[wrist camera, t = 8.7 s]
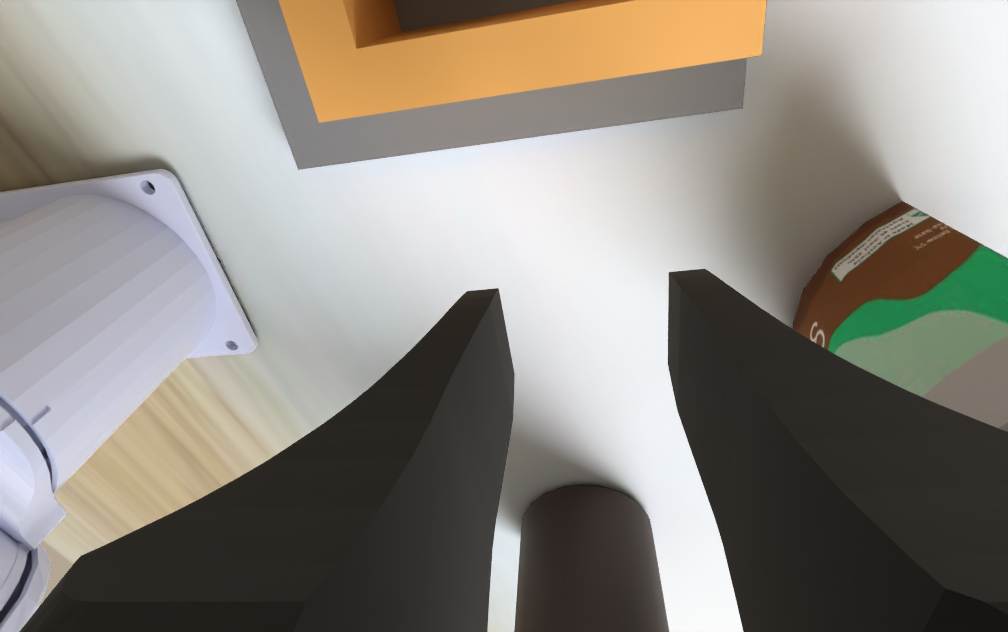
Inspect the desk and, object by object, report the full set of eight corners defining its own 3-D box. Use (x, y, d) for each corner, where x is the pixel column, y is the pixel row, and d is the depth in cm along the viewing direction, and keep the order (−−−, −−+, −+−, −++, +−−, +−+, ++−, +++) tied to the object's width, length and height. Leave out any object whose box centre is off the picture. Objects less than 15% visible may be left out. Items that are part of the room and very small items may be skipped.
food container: (705, 259, 19) (819, 481, 11) (889, 164, 17) (1216, 352, 8) (822, 461, 24) (962, 720, 16) (976, 409, 22) (1238, 681, 13)
